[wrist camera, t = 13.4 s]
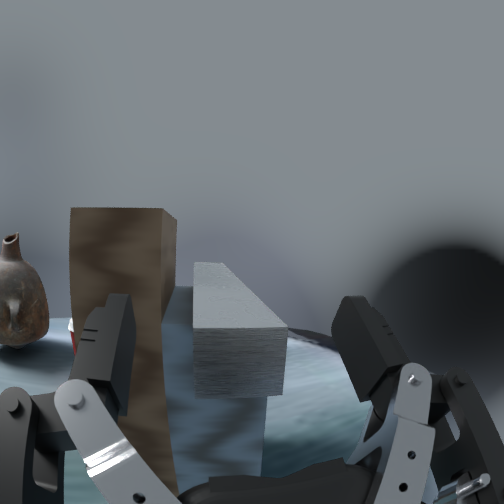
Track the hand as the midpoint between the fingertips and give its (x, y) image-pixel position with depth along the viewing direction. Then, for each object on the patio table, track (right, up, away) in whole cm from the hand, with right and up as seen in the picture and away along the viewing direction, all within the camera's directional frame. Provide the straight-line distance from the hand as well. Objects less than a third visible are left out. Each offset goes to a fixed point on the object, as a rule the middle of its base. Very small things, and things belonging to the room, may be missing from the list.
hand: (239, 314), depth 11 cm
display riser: (-8, -26, +18) cm, 33 cm away
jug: (-60, -23, +43) cm, 78 cm away
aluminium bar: (-3, -3, +13) cm, 13 cm away
